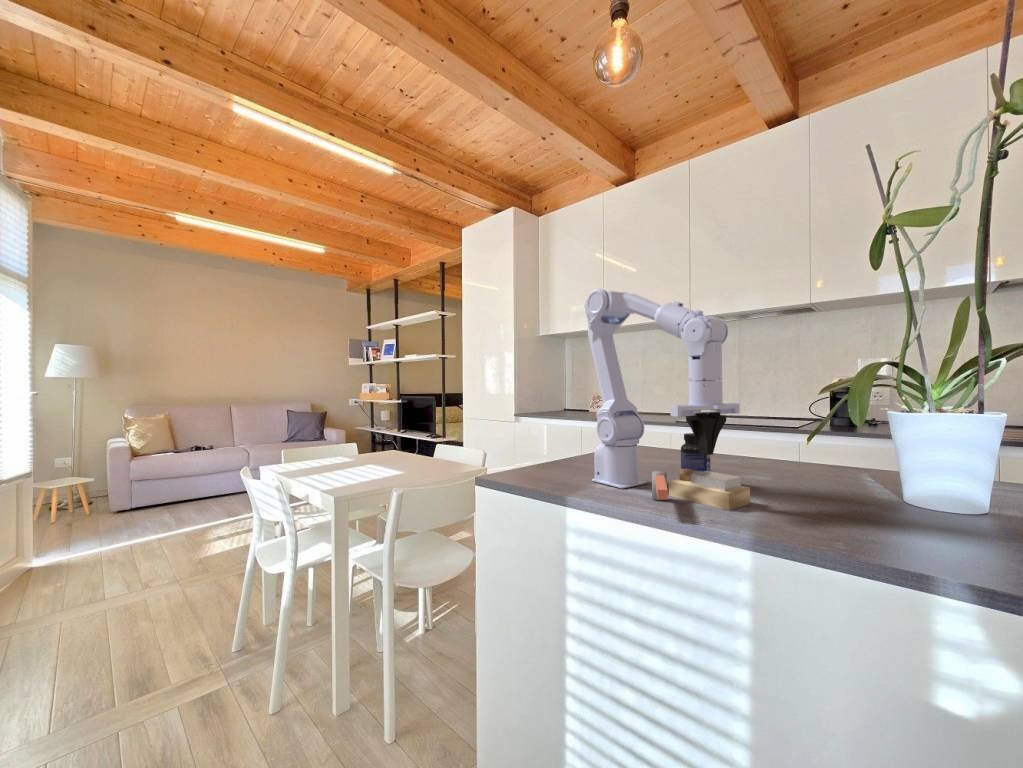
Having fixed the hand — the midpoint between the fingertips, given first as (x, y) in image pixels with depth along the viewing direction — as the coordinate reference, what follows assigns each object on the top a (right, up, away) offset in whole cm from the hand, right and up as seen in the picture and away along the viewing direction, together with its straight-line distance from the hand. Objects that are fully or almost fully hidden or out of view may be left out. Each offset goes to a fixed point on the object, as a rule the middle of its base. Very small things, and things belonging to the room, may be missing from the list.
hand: (706, 454), depth 81 cm
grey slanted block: (+3, -6, +2) cm, 7 cm away
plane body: (+2, -9, +3) cm, 10 cm away
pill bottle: (+5, -9, +16) cm, 20 cm away
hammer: (-9, -9, -1) cm, 13 cm away
